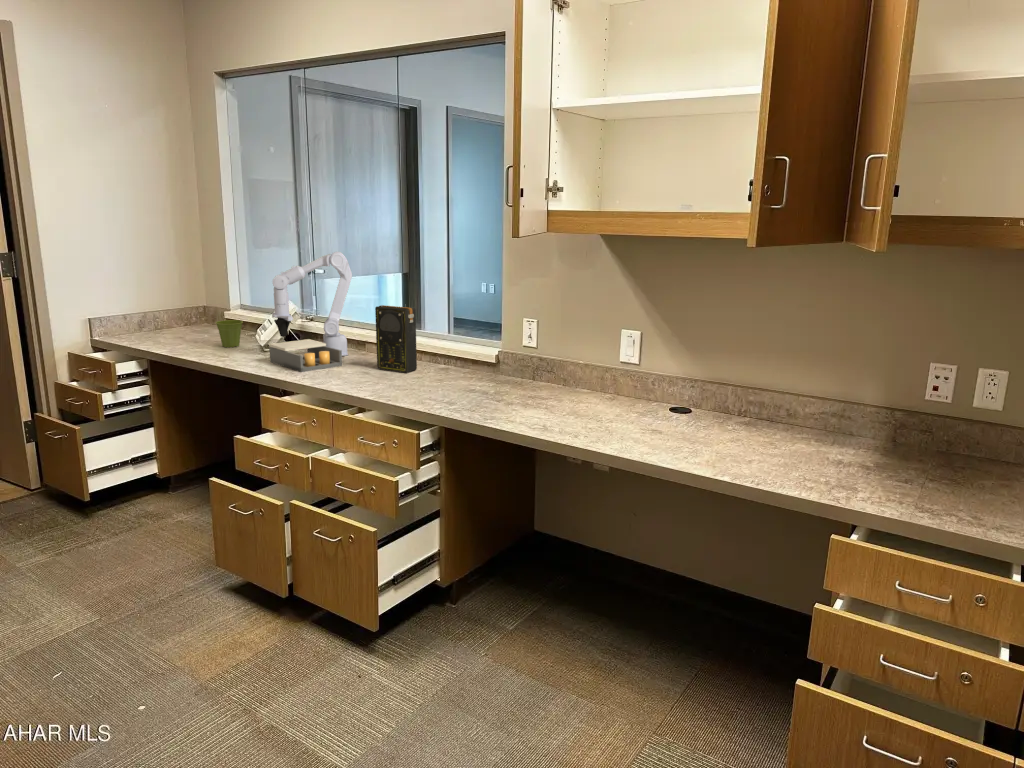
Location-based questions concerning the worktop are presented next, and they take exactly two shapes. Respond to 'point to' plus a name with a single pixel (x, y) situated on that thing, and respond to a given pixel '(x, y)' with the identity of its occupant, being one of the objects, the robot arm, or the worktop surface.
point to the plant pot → (229, 332)
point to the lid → (297, 345)
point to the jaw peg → (324, 357)
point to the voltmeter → (396, 338)
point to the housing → (298, 363)
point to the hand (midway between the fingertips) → (283, 336)
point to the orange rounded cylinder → (309, 359)
